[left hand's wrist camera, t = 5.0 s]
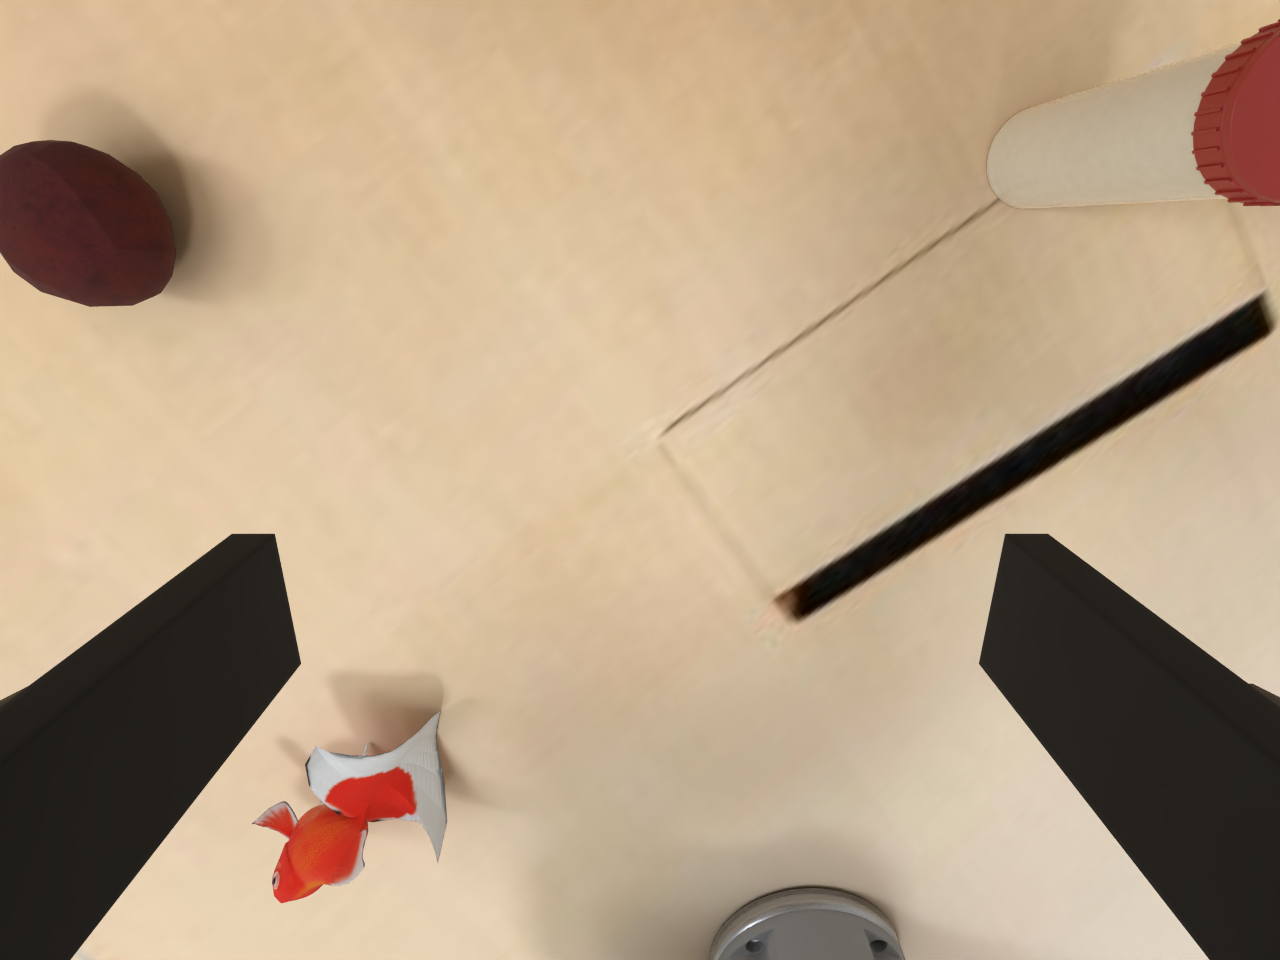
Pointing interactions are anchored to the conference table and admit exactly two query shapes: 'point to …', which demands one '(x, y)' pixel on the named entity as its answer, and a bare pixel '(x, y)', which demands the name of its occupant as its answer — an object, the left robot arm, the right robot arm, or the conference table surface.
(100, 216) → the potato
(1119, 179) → the bottle
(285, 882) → the fish
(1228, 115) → the lid
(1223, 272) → the conference table surface
